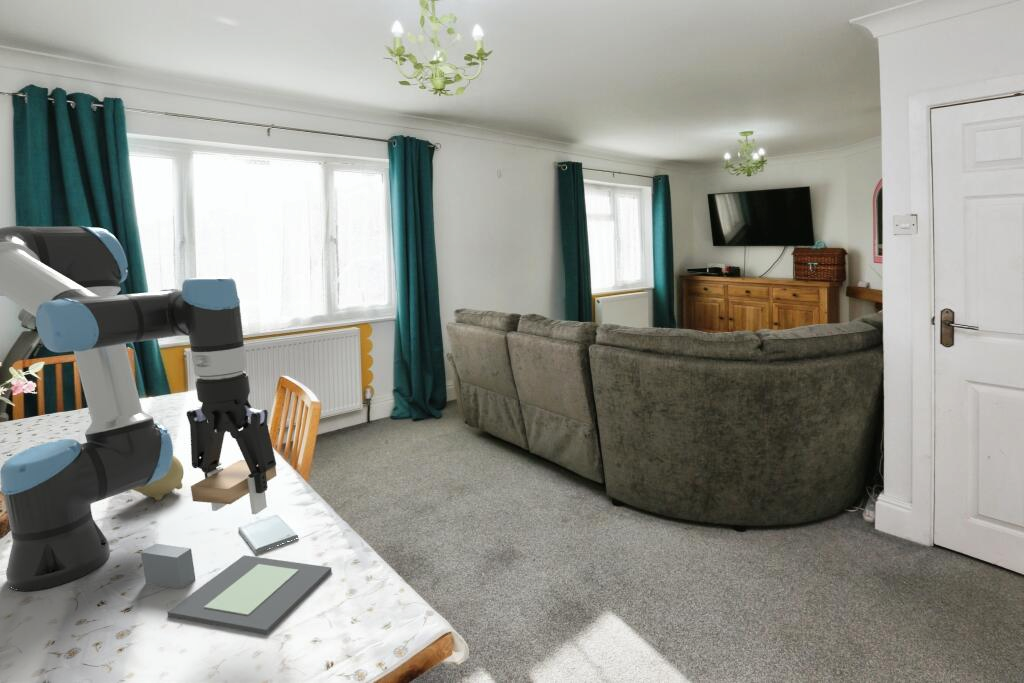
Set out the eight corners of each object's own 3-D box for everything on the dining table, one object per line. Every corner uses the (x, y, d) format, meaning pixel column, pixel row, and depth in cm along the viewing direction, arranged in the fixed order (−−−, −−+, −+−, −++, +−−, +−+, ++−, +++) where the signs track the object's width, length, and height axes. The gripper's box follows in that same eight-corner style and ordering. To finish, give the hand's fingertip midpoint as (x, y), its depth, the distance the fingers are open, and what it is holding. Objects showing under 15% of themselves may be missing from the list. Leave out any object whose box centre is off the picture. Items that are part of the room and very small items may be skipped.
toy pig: (123, 500, 134) (116, 458, 132) (177, 483, 143) (172, 443, 141) (135, 511, 128) (128, 467, 126) (192, 493, 136) (186, 452, 135)
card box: (242, 473, 98) (240, 460, 98) (276, 475, 96) (274, 462, 96) (192, 501, 88) (190, 486, 87) (230, 504, 86) (228, 489, 85)
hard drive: (298, 534, 112) (278, 513, 122) (255, 549, 107) (237, 525, 117) (298, 541, 113) (278, 520, 122) (256, 557, 107) (238, 533, 117)
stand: (145, 583, 99) (140, 552, 98) (160, 573, 102) (155, 543, 101) (181, 589, 97) (176, 557, 96) (195, 579, 100) (191, 548, 99)
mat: (167, 616, 90) (166, 610, 89) (244, 559, 106) (243, 554, 106) (266, 634, 84) (266, 628, 84) (331, 571, 100) (331, 566, 100)
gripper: (151, 378, 88) (172, 514, 91) (258, 380, 83) (276, 524, 86) (189, 368, 95) (207, 495, 99) (290, 369, 90) (305, 502, 94)
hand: (239, 508), depth 92 cm, fingers closed on card box, 7 cm apart
